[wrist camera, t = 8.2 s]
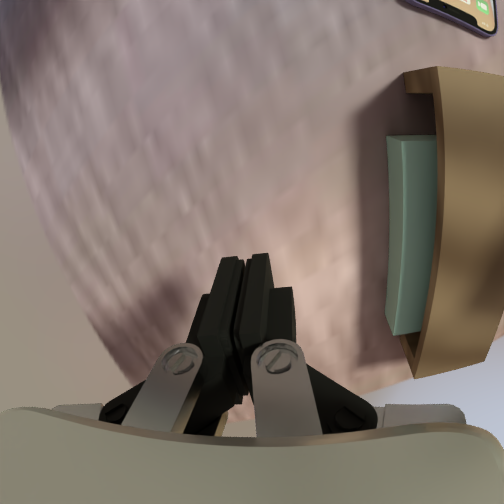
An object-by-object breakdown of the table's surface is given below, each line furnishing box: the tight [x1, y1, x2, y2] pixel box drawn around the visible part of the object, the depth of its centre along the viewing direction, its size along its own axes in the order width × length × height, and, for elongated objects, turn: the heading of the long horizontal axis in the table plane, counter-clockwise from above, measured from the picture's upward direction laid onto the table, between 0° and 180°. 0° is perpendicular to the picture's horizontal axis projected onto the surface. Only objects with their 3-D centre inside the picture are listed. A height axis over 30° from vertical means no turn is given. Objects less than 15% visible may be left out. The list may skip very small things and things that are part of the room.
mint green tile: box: [385, 135, 437, 336], centre depth 16 cm, size 12×6×2 cm, turn 10°
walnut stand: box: [400, 66, 504, 379], centre depth 15 cm, size 18×6×4 cm, turn 10°
